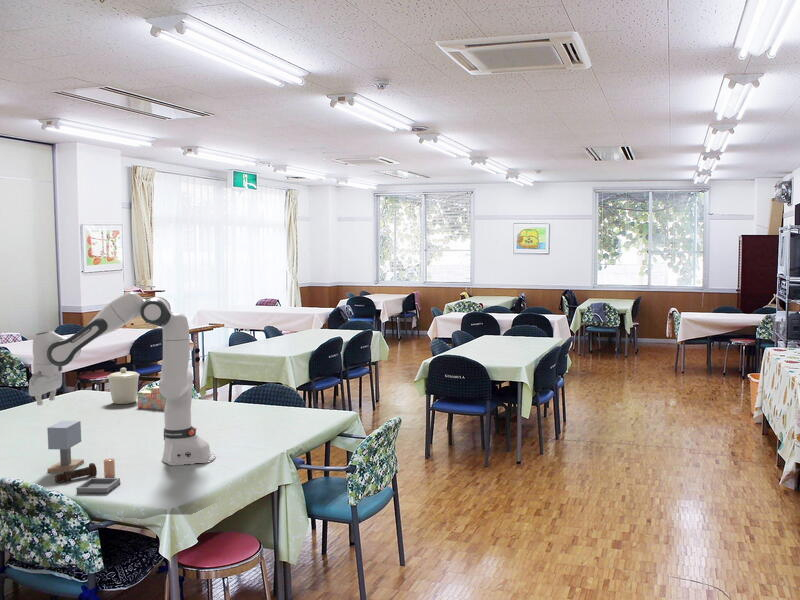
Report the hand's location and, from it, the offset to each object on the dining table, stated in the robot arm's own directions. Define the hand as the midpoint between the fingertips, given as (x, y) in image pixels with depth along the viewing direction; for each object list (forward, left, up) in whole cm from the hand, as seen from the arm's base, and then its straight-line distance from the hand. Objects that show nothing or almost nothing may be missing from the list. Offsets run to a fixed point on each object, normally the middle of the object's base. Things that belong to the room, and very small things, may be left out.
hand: (46, 402), depth 300 cm
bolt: (-19, +15, -28) cm, 37 cm away
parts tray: (-33, +26, -28) cm, 51 cm away
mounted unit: (-7, 0, -28) cm, 29 cm away
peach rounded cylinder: (-31, +12, -28) cm, 43 cm away
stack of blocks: (-4, -112, -28) cm, 115 cm away
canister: (+21, -125, -28) cm, 130 cm away
